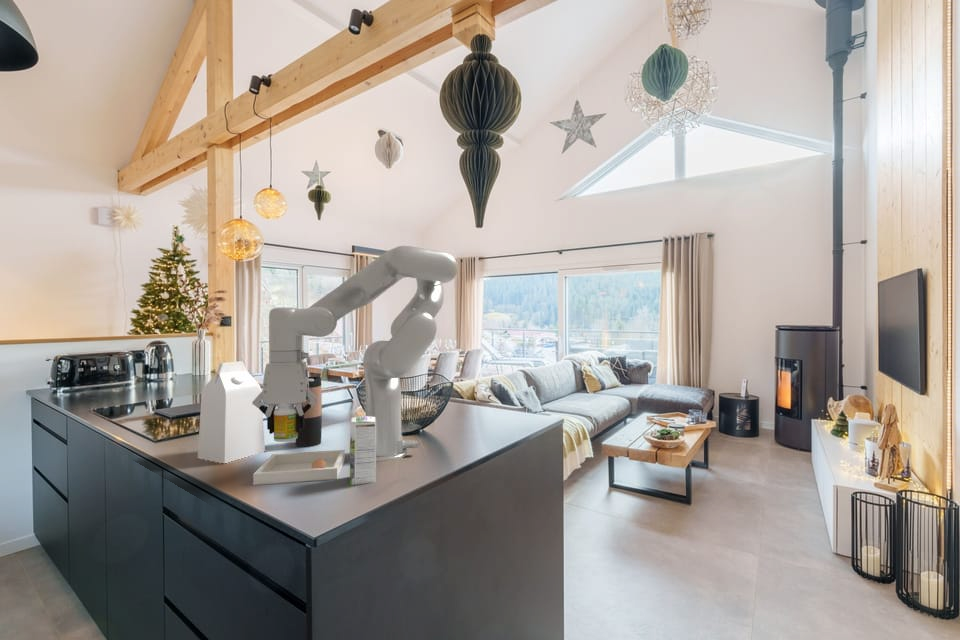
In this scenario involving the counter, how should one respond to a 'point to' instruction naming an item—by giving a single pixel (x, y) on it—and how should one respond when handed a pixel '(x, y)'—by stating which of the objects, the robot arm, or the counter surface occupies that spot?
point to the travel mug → (312, 418)
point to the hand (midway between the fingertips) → (285, 430)
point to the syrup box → (363, 450)
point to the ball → (318, 464)
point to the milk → (230, 416)
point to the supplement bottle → (285, 423)
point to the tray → (299, 467)
